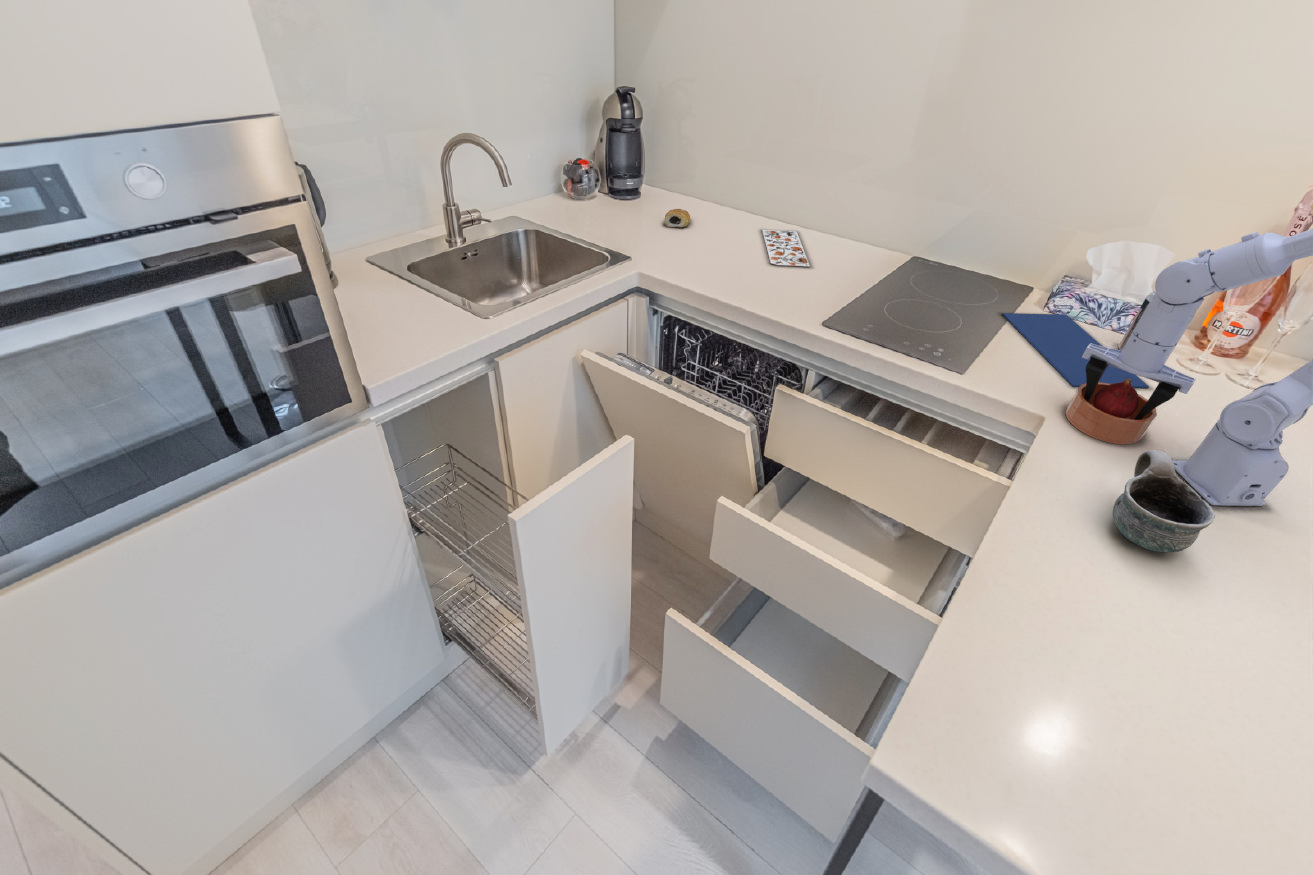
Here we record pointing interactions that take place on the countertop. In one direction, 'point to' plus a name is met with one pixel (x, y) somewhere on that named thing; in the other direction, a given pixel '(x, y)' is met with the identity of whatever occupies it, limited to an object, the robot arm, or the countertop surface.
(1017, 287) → the countertop surface
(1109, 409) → the onion
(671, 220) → the pastry
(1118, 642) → the countertop surface
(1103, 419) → the bowl
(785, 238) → the paper towel
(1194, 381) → the robot arm
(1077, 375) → the cloth
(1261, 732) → the countertop surface
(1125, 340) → the beer can
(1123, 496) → the mug
